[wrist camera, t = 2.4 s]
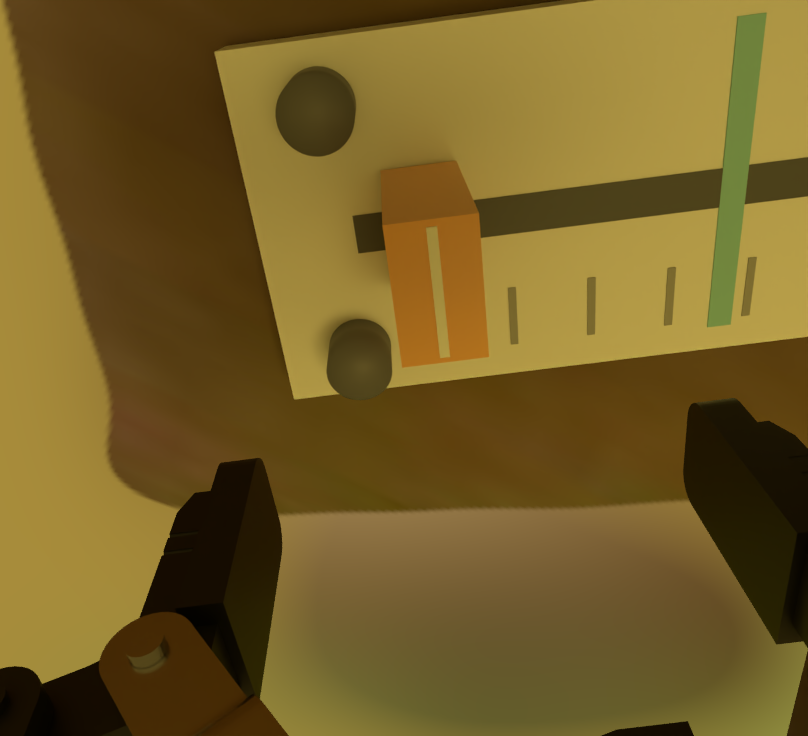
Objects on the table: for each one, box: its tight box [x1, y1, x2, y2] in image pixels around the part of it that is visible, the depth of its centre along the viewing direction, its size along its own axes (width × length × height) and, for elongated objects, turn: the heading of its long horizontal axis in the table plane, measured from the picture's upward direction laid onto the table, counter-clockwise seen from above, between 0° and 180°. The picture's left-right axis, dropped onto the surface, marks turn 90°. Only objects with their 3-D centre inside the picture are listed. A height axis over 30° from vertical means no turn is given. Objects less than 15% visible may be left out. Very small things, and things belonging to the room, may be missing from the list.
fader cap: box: [380, 161, 489, 368], centre depth 23 cm, size 4×3×6 cm, turn 7°
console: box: [214, 0, 808, 400], centre depth 25 cm, size 13×24×4 cm, turn 97°
